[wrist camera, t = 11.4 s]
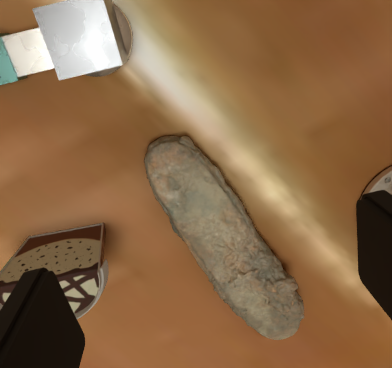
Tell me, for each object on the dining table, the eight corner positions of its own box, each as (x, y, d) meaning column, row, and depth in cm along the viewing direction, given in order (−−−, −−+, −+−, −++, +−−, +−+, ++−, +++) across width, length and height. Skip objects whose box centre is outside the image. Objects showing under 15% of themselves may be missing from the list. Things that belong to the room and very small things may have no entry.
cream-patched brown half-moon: (33, 278, 45) (1, 341, 36) (16, 238, 42) (-24, 295, 33) (127, 260, 45) (119, 318, 36) (115, 220, 42) (103, 271, 33)
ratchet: (120, -12, 33) (111, -22, 26) (141, 64, 35) (137, 71, 29) (-49, 30, 33) (-100, 29, 26) (-15, 102, 35) (-53, 118, 29)
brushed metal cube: (111, -1, 31) (101, -8, 25) (128, 59, 33) (122, 65, 27) (54, 12, 31) (32, 8, 25) (75, 72, 33) (59, 80, 27)
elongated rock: (195, 110, 40) (124, 154, 41) (196, 120, 35) (116, 169, 36) (316, 310, 51) (257, 337, 53) (329, 338, 47) (264, 367, 48)
